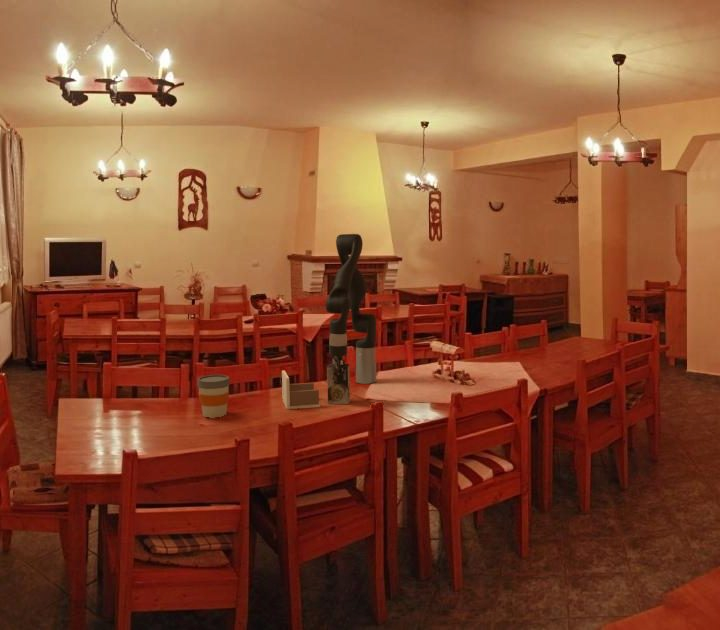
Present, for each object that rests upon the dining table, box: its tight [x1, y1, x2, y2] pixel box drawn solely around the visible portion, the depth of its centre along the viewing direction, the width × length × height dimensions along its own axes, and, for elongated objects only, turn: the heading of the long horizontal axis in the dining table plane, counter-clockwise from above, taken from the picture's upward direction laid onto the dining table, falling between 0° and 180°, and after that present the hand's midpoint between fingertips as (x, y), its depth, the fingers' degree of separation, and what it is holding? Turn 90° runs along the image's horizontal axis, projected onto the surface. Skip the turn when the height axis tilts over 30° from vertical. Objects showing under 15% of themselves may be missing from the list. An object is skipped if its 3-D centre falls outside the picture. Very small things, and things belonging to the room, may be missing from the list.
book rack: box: [281, 370, 321, 410], centre depth 270 cm, size 14×15×13 cm
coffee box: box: [326, 363, 351, 405], centre depth 271 cm, size 9×6×16 cm
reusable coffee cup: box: [196, 374, 231, 419], centre depth 253 cm, size 13×13×15 cm
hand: (338, 381), depth 271 cm, fingers open, 8 cm apart
